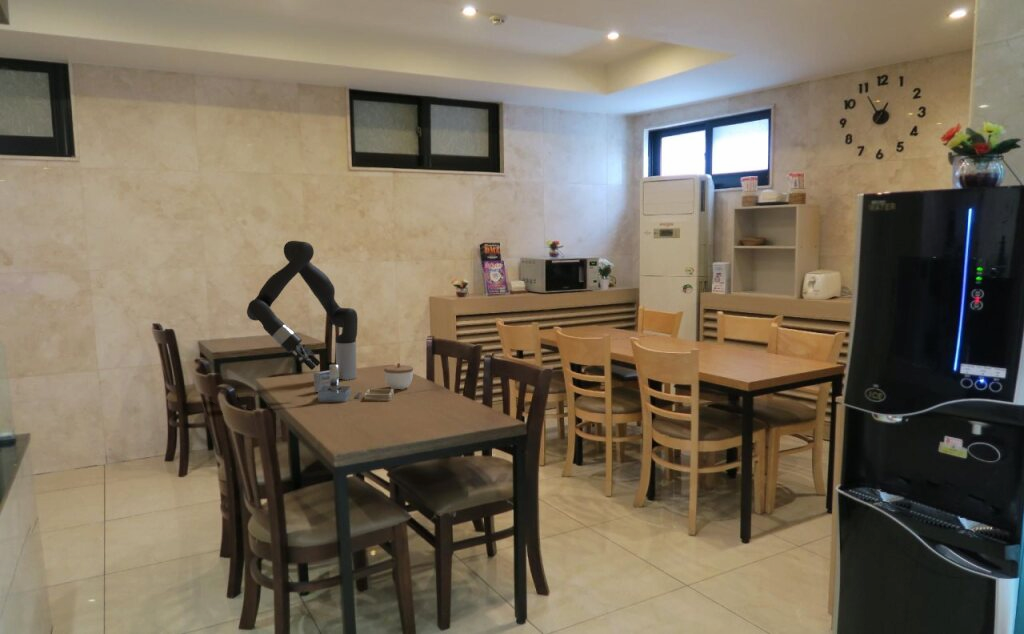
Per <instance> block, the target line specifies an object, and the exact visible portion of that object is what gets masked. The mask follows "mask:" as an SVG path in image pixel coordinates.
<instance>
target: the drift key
mask: <svg viewBox="0 0 1024 634" xmlns="http://www.w3.org/2000/svg"><path fill="white" fill-rule="evenodd" d="M362 394H363V393H362V392H357V394H355V396H354V398H355V399H360V398H361V396H362Z"/></svg>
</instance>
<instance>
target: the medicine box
mask: <svg viewBox="0 0 1024 634" xmlns="http://www.w3.org/2000/svg"><path fill="white" fill-rule="evenodd" d="M313 386H314V388H313V389H314V391H313V392H314V393H316V392H319V391H320V390H321V389H322V388H323V387H324V386H330V371H329V370H323V371H317V372H314V373H313Z"/></svg>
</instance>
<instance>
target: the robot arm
mask: <svg viewBox="0 0 1024 634" xmlns="http://www.w3.org/2000/svg"><path fill="white" fill-rule="evenodd" d="M314 251H315V250H314V246H313V245H312V244H311V243H309V242H307V241H300V240H290V241H287V242H285V244H284V246H283V254H284V257H285V258H286V260H287V262H288V263H287V264H286V265H284V266H283V267H282V268H281V269H280V270H278V271H276V272H275V273H274V274H272V275H271V276H270V277H269V278H268V279H267V281H266V282H265V283H264V285H263V286H262V287H261V288H260V290H259V293H258V295H257V296H256V297H255V299H252V300H251V301H250V302H249V303H248V306H247V309H246V315H247V317H248V318H249V319H250V320H252V321H258V322H259V323H261V324H262V328H263V329H264V330H265V332H266V333H268V334H269V336H270V337H272V338H273V340H274V341H275V343H277V344H279V346H280V347H281V348H282V349H283V350H285V351H286V352H287V353H289V354H291V355H292V356H293V357H294V358H295V359H296V360H297V361H298V362H299V363H300V364H304V365H305V366H307V368H308V369H309V370H314V369H315V368H316V367H318V366H319V365H320V364H321V361H320V360H319V359H318V358H317V357H316V356H315V353H314V352H313V351H312V350H311V349H310V348H309V347H308V346H307V345H306V344H305V343H304V344H301V342H302V341H303V340H302V338H301V337H300V336H299V335H298V334H297V333H296V332H294V330H293V329H291V328H290V327H289V326H288V325H286V324H285V323H284V322H283V321H282V320H281V319H280V318H279V317H277V315H276V314H275V312H274V311H273V310H272V308H271V307H272V304H273V303H274V302H275V300H277V298H279V296H280V294H281V293H282V291H283V290H284V289H285V288H286V286H287V285H288V284H289V282H291V280H292V279H293V278H295V277H296V275H297V274H299V275H300V277H301V279H303V281H304V282H305V284H306V285H307V286H308V288H309V290H310V291H311V292H312V294H313V295H314V296H315V298H316V299H317V301H318V302H319V303H320V304H321V306H322V308H323V309H324V310H325V312H326V313H325V314H326V315H327V316H328V318H329V320H330V322H331V323H332V325H333V326H334V327H337V328H343V330H342V333H341V334H338V335H336V336H335V362H336V364H337V365H338V367H339V379H343V380H342V381H345V380H346V381H349V379H350V380H355V379H357V378H356V377H357V336H358V313H357V311H356V309H354V308H350V307H349V308H347V307H341V306H340V305H339V304H338V303H337V302H336V299H335V295H336V294H335V292H336V291H335V286H334V284H333V283H332V280H330V278H329V277H328V275H327V274H326V273H325V272H323V271H322V270H320V268H319V267H317V266H315V265H314V263H312V262H311V260H312V259H313V257H314V254H315V253H314Z"/></svg>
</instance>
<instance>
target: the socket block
mask: <svg viewBox="0 0 1024 634" xmlns="http://www.w3.org/2000/svg"><path fill="white" fill-rule="evenodd" d="M338 388H339V390H335V391H330V386H324V387H323V388H322V389H321V390H320V391H319V392H318V393H317V403H345V402H347V401H348V400H349V398H350V397H351V396H352V395H351V385H350V386H349V385H347V386H345V385H344V386H343V385H341V386H340V385H338Z"/></svg>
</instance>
